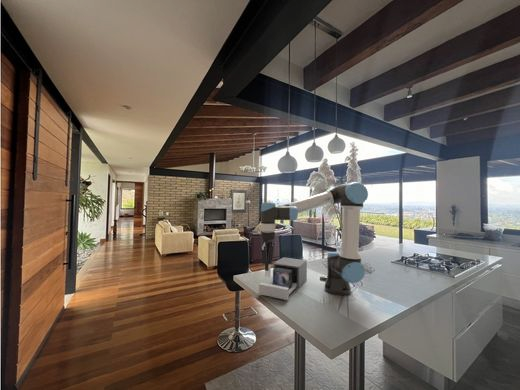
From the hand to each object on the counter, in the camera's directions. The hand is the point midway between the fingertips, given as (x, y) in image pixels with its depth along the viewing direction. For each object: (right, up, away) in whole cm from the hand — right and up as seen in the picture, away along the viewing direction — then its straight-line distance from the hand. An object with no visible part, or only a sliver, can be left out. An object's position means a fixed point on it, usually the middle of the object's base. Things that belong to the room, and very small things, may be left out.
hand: (267, 276), depth 116 cm
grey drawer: (+8, -14, +15) cm, 21 cm away
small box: (+10, -13, +17) cm, 24 cm away
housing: (+16, -16, +31) cm, 39 cm away
